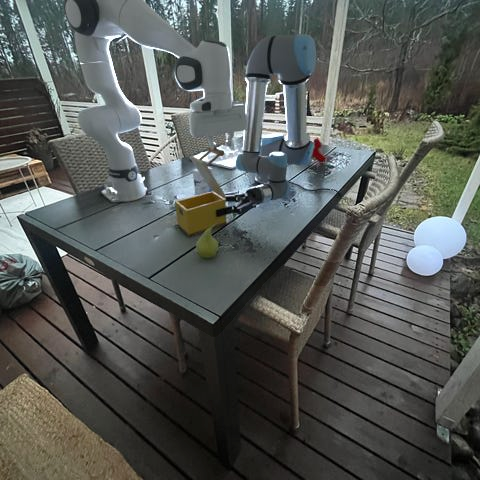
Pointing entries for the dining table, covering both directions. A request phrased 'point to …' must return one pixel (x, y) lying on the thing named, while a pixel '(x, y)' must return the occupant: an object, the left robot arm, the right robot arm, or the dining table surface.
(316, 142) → the toy gun
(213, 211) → the chest
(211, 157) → the relief map
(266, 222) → the dining table surface
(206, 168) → the lid
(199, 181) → the ink box
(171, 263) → the dining table surface
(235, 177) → the dining table surface
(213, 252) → the fruit
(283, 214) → the dining table surface
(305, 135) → the right robot arm
